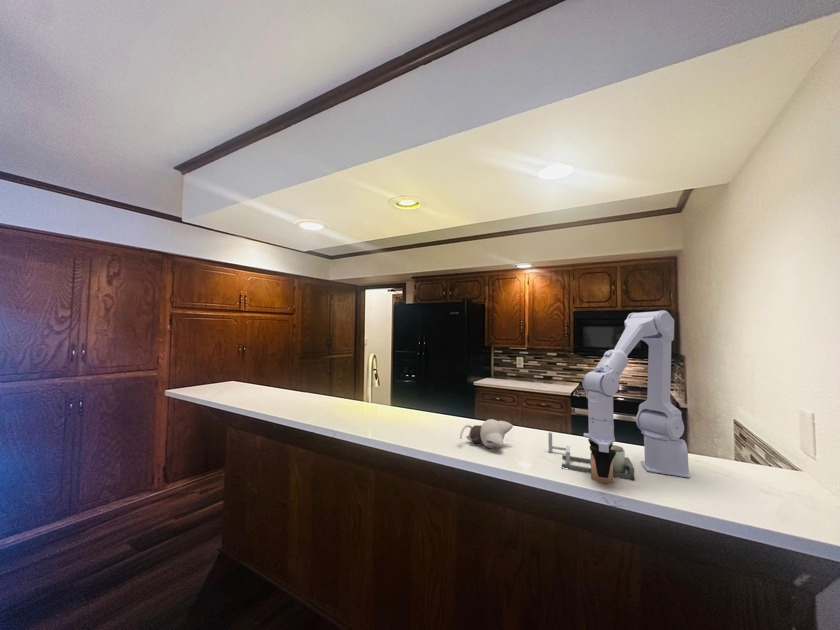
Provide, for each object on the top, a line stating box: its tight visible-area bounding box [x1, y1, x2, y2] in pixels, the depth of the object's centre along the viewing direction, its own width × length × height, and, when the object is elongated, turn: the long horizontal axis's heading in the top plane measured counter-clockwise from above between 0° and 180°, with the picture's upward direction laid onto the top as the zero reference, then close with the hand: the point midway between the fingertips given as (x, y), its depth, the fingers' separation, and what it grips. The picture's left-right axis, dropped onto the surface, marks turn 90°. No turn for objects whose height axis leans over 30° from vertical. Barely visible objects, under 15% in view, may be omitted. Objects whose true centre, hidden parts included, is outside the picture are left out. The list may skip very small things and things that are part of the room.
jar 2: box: [610, 444, 626, 474], centre depth 89 cm, size 5×5×6 cm
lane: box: [561, 454, 636, 481], centre depth 90 cm, size 17×8×3 cm, turn 65°
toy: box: [459, 418, 514, 450], centre depth 108 cm, size 13×9×15 cm
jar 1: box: [590, 452, 614, 485], centre depth 83 cm, size 5×5×6 cm
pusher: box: [548, 431, 571, 465], centre depth 97 cm, size 6×12×6 cm, turn 155°
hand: (601, 472), depth 83 cm, fingers closed on jar 1, 5 cm apart
